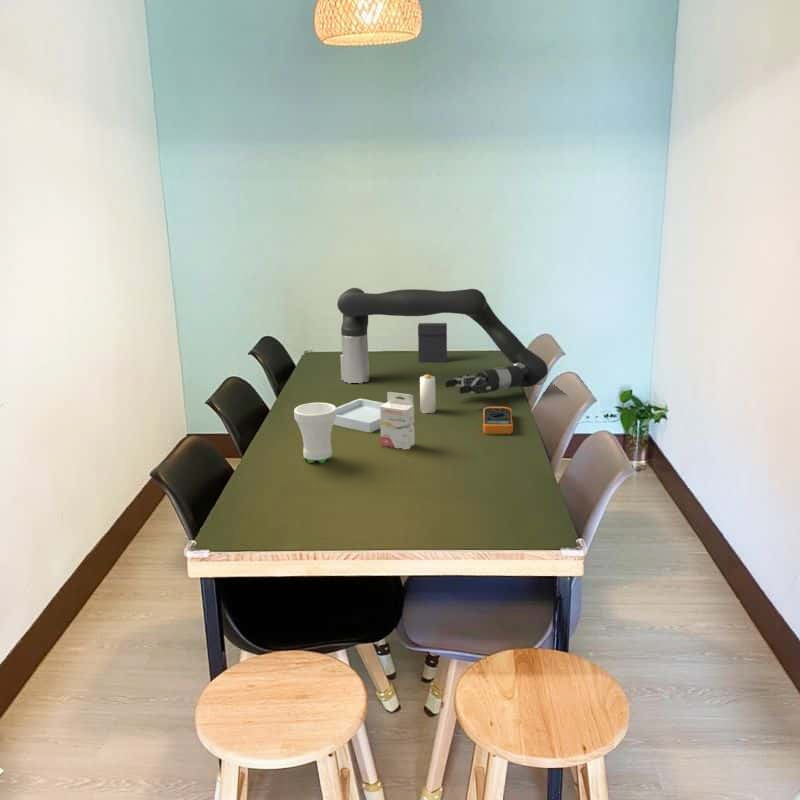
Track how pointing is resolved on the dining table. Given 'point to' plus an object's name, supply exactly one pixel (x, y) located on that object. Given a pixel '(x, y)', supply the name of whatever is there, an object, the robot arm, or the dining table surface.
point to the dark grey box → (432, 342)
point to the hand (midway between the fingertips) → (452, 387)
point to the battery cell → (427, 394)
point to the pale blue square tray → (359, 415)
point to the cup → (316, 429)
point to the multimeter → (497, 420)
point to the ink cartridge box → (397, 421)
